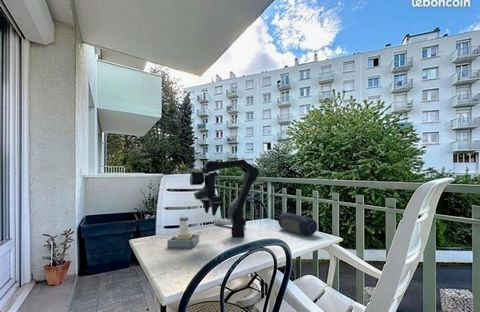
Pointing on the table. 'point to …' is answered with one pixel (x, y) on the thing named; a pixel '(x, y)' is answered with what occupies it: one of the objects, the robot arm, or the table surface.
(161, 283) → the table surface
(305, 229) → the portable speaker
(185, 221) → the cream and grey cylinder
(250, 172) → the robot arm
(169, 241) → the walled box
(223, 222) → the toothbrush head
